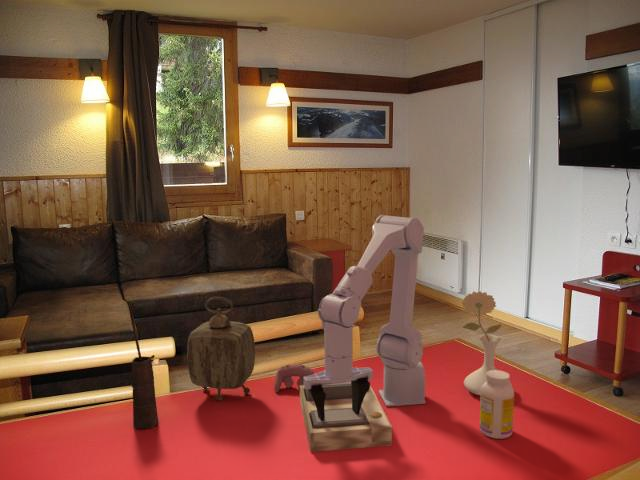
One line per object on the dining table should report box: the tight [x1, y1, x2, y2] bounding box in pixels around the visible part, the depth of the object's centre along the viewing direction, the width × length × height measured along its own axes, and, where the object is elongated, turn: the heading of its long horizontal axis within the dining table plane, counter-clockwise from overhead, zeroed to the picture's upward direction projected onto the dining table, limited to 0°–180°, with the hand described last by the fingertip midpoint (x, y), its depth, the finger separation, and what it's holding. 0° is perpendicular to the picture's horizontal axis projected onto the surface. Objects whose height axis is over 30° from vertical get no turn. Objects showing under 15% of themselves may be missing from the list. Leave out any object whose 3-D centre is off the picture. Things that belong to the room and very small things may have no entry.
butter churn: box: [127, 300, 159, 430], centre depth 118 cm, size 9×10×28 cm
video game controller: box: [274, 363, 315, 393], centre depth 136 cm, size 10×5×7 cm, turn 85°
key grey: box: [305, 381, 352, 401], centre depth 125 cm, size 11×6×4 cm, turn 98°
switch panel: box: [299, 385, 393, 453], centre depth 119 cm, size 16×22×4 cm
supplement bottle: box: [479, 369, 515, 440], centre depth 114 cm, size 7×7×13 cm
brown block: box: [311, 407, 368, 429], centre depth 113 cm, size 11×6×4 cm, turn 98°
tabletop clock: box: [186, 296, 256, 402], centre depth 130 cm, size 14×9×25 cm, turn 78°
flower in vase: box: [461, 291, 513, 397], centre depth 132 cm, size 13×11×25 cm
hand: (338, 415), depth 113 cm, fingers open, 7 cm apart
